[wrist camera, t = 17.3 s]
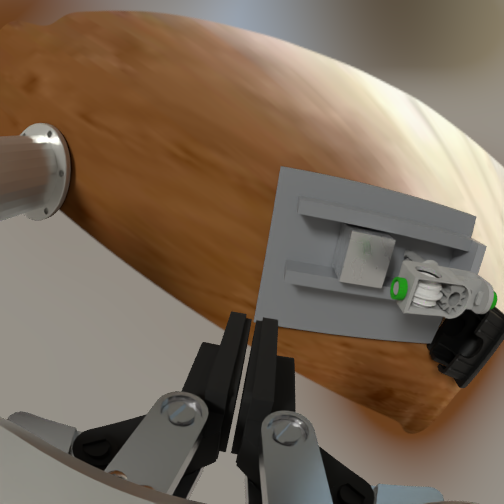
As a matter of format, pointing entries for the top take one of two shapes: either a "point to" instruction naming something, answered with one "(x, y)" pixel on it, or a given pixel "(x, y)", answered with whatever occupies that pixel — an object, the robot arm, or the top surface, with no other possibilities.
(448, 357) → the end cap
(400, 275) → the mechanical component
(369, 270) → the grey matte cube
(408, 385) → the top surface
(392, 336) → the grey railed base plate
